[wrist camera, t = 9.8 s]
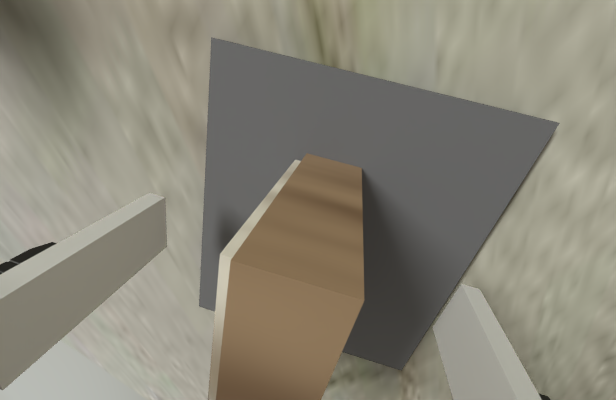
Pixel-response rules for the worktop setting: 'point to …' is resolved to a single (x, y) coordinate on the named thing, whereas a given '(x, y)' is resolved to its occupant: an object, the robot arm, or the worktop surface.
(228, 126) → the mat
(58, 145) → the worktop surface
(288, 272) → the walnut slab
